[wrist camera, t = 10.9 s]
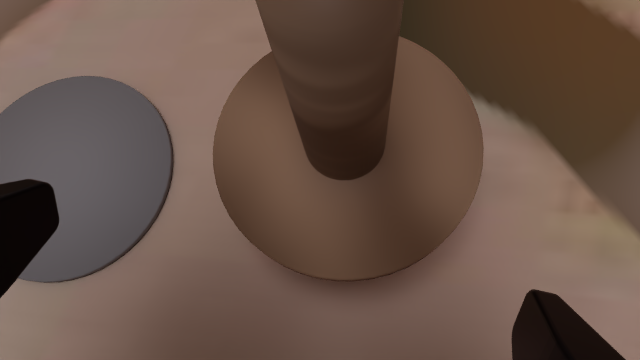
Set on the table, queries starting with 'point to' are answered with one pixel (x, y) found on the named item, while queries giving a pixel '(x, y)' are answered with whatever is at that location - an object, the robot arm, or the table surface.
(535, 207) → the table surface
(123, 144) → the mat
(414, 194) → the post with round base
